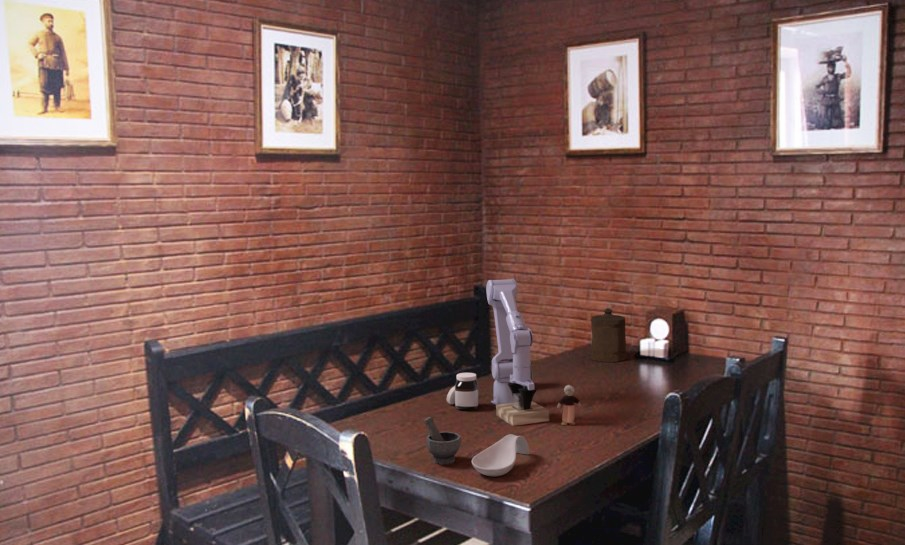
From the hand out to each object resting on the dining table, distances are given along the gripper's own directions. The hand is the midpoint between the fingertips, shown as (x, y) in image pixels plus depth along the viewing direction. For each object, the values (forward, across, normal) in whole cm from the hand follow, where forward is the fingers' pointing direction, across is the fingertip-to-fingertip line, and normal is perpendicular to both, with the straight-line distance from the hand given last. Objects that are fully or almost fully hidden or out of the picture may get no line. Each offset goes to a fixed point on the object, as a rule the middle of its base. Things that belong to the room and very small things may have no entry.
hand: (522, 406), depth 265 cm
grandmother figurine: (+4, +12, +11) cm, 17 cm away
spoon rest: (+4, +38, -24) cm, 45 cm away
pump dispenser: (+4, -36, +16) cm, 40 cm away
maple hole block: (+4, 0, 0) cm, 4 cm away
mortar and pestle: (+4, +27, -38) cm, 47 cm away
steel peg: (+4, 0, 0) cm, 4 cm away
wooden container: (+4, -64, +72) cm, 96 cm away
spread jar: (+4, -21, -13) cm, 25 cm away
